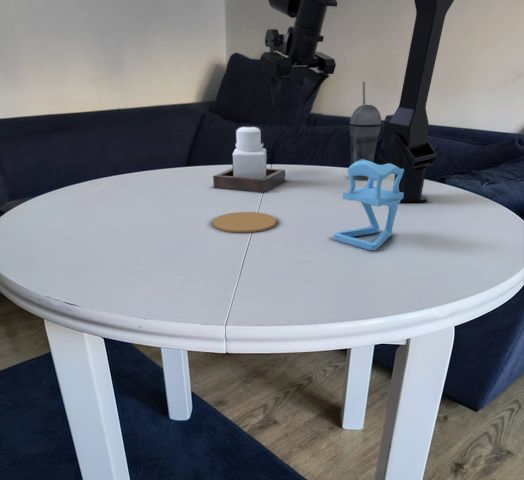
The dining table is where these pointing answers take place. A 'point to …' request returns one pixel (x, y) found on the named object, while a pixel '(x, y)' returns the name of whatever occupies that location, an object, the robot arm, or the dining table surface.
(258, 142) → the medicine bottle
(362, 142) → the beverage cup
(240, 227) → the cork coaster
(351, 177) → the chair
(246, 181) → the bottle holder
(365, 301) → the dining table surface
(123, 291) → the dining table surface
